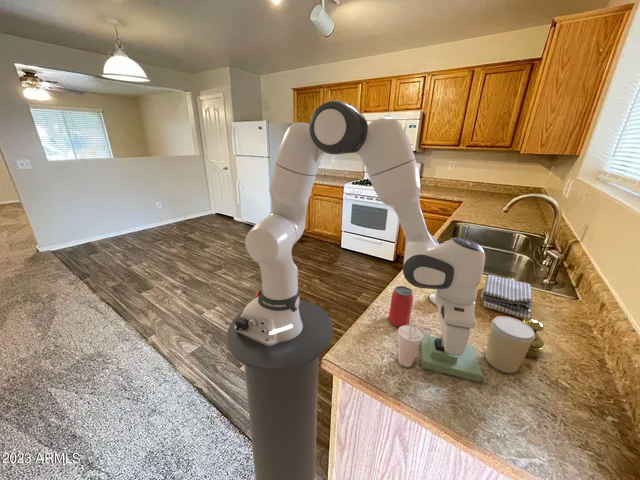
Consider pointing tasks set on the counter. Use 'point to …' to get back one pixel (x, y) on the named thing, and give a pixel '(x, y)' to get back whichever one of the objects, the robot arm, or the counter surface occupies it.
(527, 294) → the towel
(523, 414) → the counter surface
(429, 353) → the green flat stepped block
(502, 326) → the coffee cup
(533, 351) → the gold stacked stones ornament
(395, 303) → the beer can
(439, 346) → the key
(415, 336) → the smoothie
